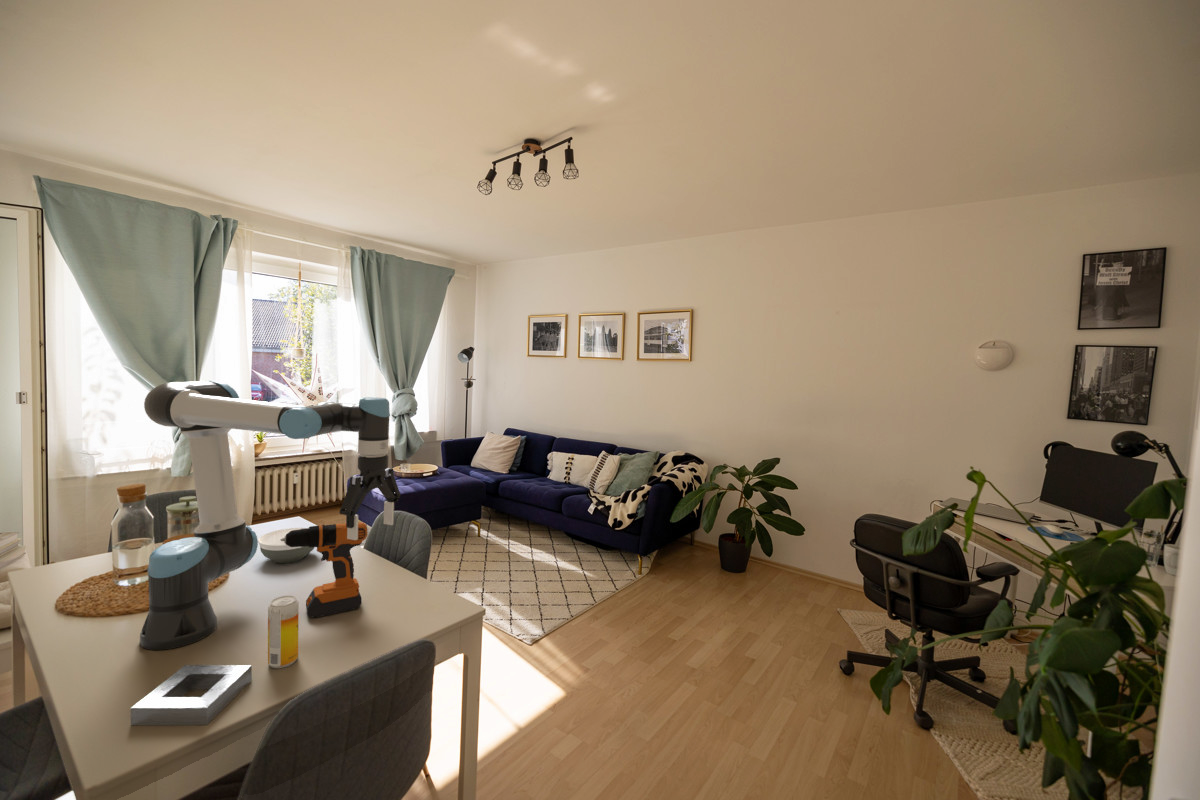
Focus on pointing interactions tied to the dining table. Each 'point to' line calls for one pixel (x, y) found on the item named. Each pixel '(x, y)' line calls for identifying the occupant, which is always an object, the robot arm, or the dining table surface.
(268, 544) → the bowl
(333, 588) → the power drill
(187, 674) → the collar
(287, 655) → the beer can
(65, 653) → the dining table surface
